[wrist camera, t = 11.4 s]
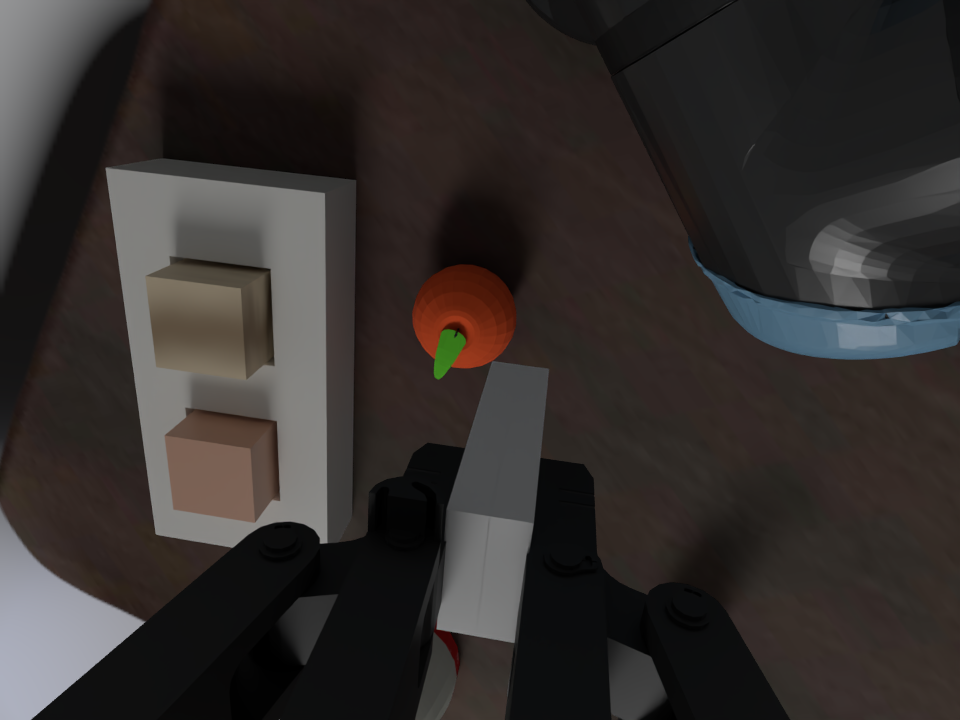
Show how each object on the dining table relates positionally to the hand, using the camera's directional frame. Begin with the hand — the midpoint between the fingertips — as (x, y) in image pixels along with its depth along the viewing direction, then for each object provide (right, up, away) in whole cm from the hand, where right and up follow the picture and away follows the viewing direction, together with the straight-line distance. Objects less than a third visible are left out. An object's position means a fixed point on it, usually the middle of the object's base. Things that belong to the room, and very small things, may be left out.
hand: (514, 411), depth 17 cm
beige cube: (-17, +6, +28) cm, 33 cm away
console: (-17, +2, +33) cm, 37 cm away
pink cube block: (-18, -4, +32) cm, 37 cm away
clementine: (-2, +5, +29) cm, 30 cm away
